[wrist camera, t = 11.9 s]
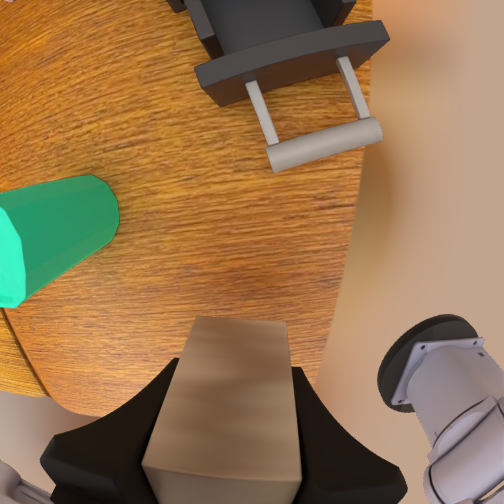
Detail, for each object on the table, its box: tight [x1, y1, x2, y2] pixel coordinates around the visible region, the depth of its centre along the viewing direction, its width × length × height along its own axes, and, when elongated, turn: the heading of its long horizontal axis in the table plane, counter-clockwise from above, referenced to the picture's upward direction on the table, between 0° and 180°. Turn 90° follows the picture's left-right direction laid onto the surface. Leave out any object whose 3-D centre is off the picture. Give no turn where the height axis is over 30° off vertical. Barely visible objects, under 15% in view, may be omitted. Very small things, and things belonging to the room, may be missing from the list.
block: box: [141, 316, 302, 504], centre depth 10 cm, size 4×4×8 cm
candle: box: [0, 175, 120, 308], centre depth 15 cm, size 6×6×12 cm
